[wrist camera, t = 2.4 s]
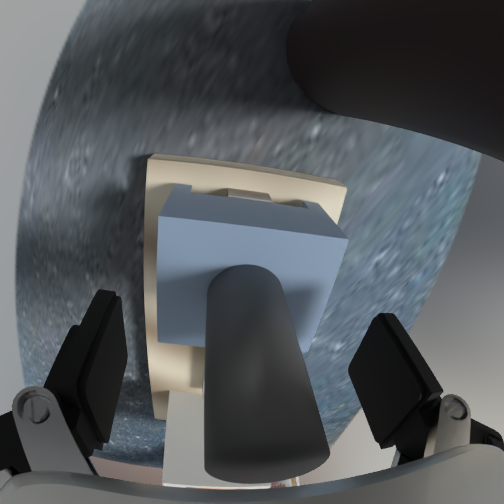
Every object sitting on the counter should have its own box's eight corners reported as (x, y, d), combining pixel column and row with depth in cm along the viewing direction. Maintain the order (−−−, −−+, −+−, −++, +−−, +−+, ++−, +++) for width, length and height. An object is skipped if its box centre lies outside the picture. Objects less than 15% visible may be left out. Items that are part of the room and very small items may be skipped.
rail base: (154, 153, 15) (141, 164, 12) (337, 180, 16) (356, 194, 14) (156, 405, 25) (153, 429, 22) (262, 412, 26) (265, 435, 24)
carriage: (175, 183, 14) (89, 383, 4) (317, 202, 15) (451, 381, 5) (168, 289, 16) (136, 488, 7) (290, 300, 18) (347, 484, 8)
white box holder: (169, 390, 21) (162, 482, 14) (258, 395, 22) (271, 485, 15) (171, 420, 24) (166, 499, 16) (248, 425, 25) (257, 502, 18)
